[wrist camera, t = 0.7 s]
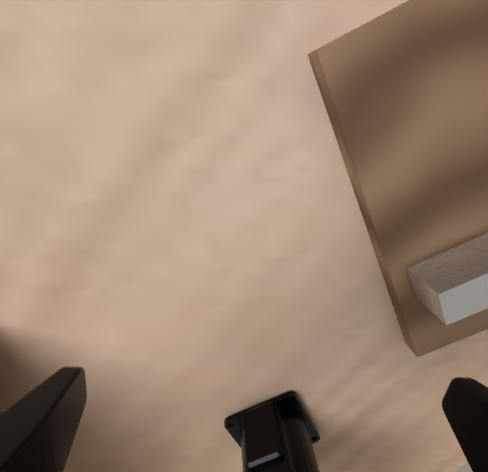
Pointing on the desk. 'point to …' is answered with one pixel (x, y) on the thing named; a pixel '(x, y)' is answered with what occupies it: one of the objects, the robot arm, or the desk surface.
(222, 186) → the desk surface
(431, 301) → the bar
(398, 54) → the board
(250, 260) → the desk surface
